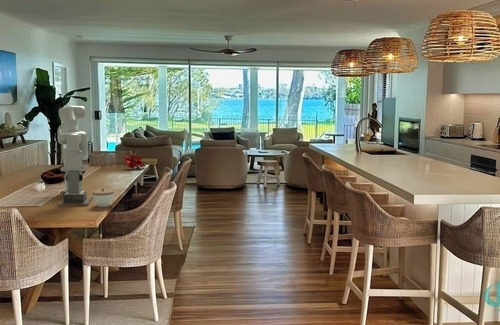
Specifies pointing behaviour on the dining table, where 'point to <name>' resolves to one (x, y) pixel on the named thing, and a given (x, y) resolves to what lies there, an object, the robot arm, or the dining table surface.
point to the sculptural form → (133, 161)
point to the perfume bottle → (74, 182)
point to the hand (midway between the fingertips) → (74, 180)
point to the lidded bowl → (103, 197)
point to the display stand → (74, 199)
